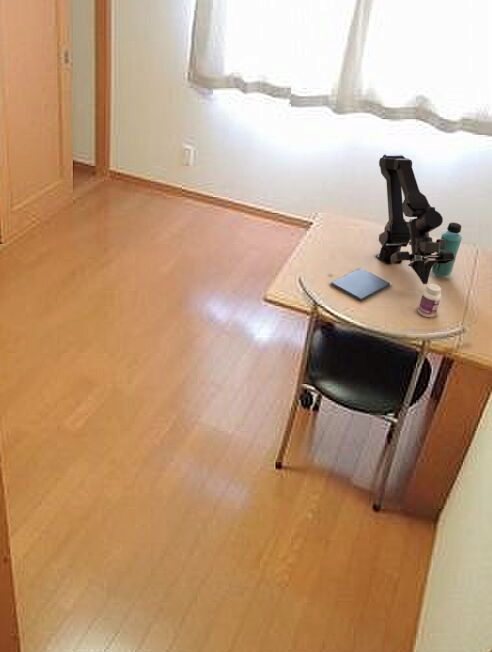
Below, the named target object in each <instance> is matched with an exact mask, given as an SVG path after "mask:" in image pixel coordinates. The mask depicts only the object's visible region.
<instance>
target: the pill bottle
mask: <svg viewBox="0 0 492 652" xmlns="http://www.w3.org/2000/svg"><path fill="white" fill-rule="evenodd" d="M441 291H442V287H440V285H437V284H436V283H435V284H434V283H430V284H428V285H427V287H426V289H424V291H423V292H422V295H421V299H420V301H419V305H418V307H417V312H418V314H420V315H421V316H423V317H426V318H432V317H435V316H436V314H437V311H438V308H439V305H440V302H441V299H442V294H441Z"/></svg>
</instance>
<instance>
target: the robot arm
mask: <svg viewBox="0 0 492 652" xmlns="http://www.w3.org/2000/svg"><path fill="white" fill-rule="evenodd" d="M378 166H379V168H380V174H381V176H382V177H383V178H384V179H385V181H386V196H387V197H386V198H387V210H388V211H387V213H388V221H387V223H386V224H385V226H384V230H383V232H382V233H380V234H378V242H379V243H380V245H381V248H380V251H379V253H378V254H375V257H376V258H377V259H379V260H380V261H382V262H384V263H385V264H387V265H399V264H401V263H402V262H403V261H409V264H407V265H408V267H410V268H411V269H412V270H413V271H414V272H415V274H416V275H417V277H418V278H419V279H420V281H421V283H422V284H423V285H427V284H428V281H429V280H430V279H429V278H430V275H431V271H432V267H433V265H434V264H435V263H437V264H447V263H449V262H451V261H453V260H455V261H456V258H455V255H454V254H453V252H440V249H445V247H446V244H445V239H441V238H437V239H436V241H433V238H432V236H430V232H432V231H434V230H436V229H437V228H439V227H440V226H442V224H443V221H444V218H443V216H442V215H441V213H440V212H439V211H438V210H436V207H435V206H431V205H430V203H429V201H428V199H427V197H426V195H424V194H423V193H422V192H421V191H420V189H419V185H418V182H417V179H416V176H415V173H414V170H413V160H412V159H410V158H408V157H405V156H404V155H403V154H387V153H386V154H383V155H382V157H379V161H378ZM403 197H404V199H403ZM404 216H405V217H407V218H410V219H409V220H408V221H406V219H405V217H404ZM408 245H409V246H410V248H411V253H410V252H409V251H403V250H402V251H401V249H402V248H407V247H408ZM436 253H438V254H436Z"/></svg>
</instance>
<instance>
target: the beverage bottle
mask: <svg viewBox="0 0 492 652" xmlns="http://www.w3.org/2000/svg"><path fill="white" fill-rule="evenodd" d="M446 230H447V231H444V232H442V233H441V237H440V239H445V244H446V247H445V249H440V252H453V254H454V255H455V260H453V261H451V262H449V263H447V264H437V263H435V264H434V265H433V266H432V268H431V271H432V273H433V274H435V275H436V276H439V277H449V276H450V275H451V274H452V272H453V269H454V265H455V262H456V259H457V254H458V252H459V250H460V249H459V248H460V245H461V242H462V240H463V237H462V236H461V234H460V233H461V231H462V225H461V224H460V223H457V222H450V223H448V225H447V227H446ZM436 254H438V253H436V252H435V255H436Z"/></svg>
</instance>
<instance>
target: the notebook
mask: <svg viewBox="0 0 492 652" xmlns="http://www.w3.org/2000/svg"><path fill="white" fill-rule="evenodd" d="M330 286H331V287H333V288H335V289H337V290H339V291H341V292H342V293H344V294H346V295H348V296H349V297H351V298H352V299H355V300H357V301H359V302H363V301H364V300H366V299H368V298H370V297H372V296H374V295H376V294H377V293H379V292H382V291H383V290H385V289H387V288H389V287H390V286H391V282H389V281H387V280H385V279H383V278H382V277H380V276H378V275H376V274H374V273H372V272H370V271H368V270H366V269H364V268H362V267H359V268H357V269H355V270H353V271H351V272H349V273H347V274H345V275H343V276H341V277H339V278H337V279H335V280H333V281H331V282H330Z"/></svg>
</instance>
